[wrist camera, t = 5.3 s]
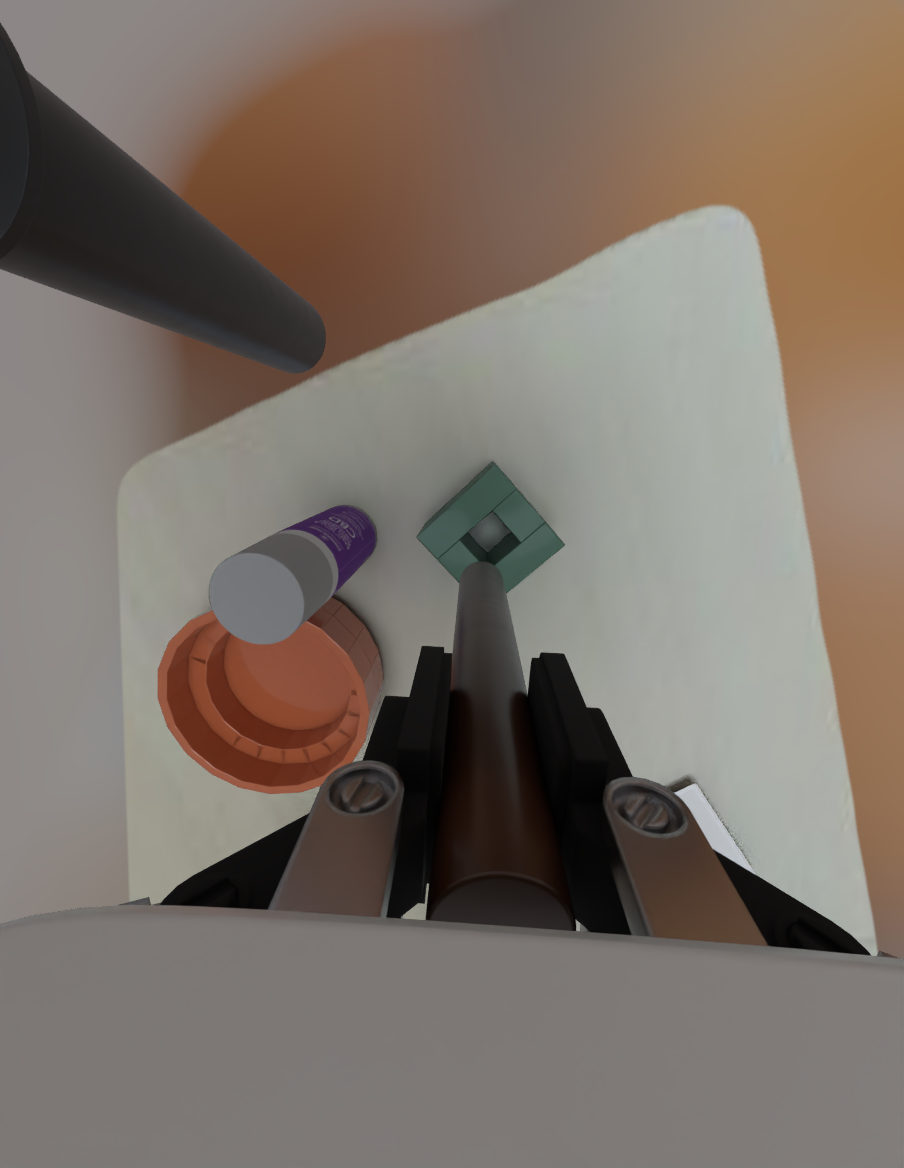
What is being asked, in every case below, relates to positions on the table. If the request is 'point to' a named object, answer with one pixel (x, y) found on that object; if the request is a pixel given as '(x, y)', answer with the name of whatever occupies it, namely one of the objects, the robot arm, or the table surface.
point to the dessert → (712, 825)
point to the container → (290, 574)
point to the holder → (468, 508)
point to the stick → (493, 781)
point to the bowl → (272, 699)
